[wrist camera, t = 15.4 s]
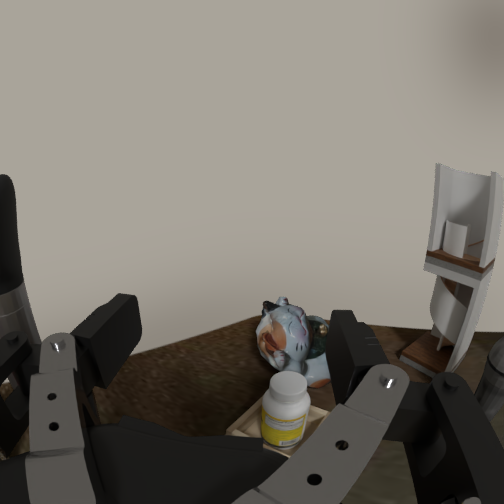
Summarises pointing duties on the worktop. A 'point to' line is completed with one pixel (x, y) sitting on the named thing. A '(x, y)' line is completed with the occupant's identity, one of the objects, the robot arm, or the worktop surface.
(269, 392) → the supplement bottle
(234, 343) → the worktop surface
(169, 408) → the worktop surface
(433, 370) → the white shelf stand
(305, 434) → the birch dock
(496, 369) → the beverage cup
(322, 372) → the lucky cat figurine
